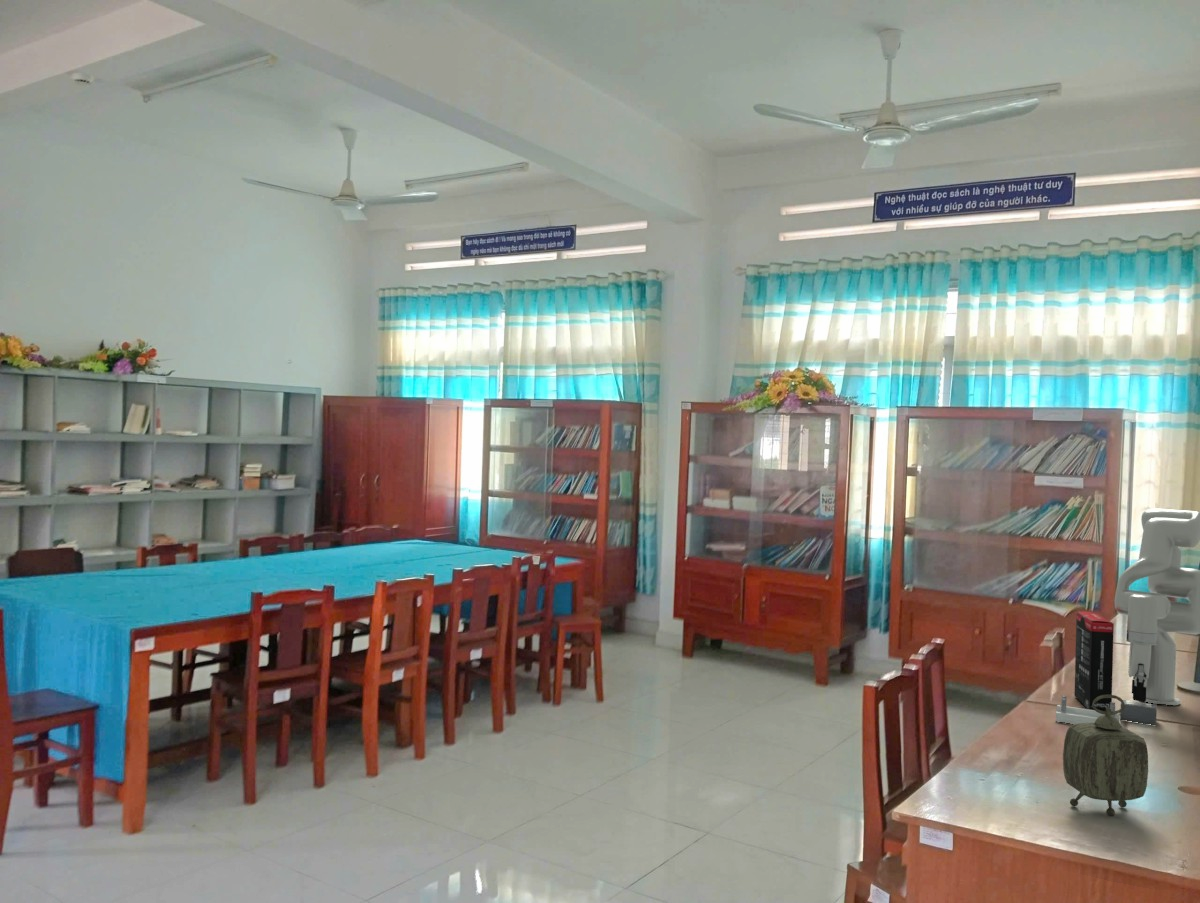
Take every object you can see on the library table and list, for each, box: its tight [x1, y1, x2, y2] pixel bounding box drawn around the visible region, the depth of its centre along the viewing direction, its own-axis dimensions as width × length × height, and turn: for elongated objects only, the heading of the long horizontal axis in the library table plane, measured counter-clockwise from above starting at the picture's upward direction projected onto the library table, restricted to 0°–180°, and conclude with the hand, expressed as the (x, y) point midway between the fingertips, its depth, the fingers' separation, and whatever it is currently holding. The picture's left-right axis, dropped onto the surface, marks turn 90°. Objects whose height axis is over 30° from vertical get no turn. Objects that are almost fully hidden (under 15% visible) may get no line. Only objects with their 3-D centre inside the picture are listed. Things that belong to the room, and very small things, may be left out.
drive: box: [1119, 699, 1158, 726], centre depth 278 cm, size 6×9×5 cm, turn 59°
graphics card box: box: [1073, 610, 1115, 711], centre depth 294 cm, size 17×7×27 cm, turn 168°
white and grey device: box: [1055, 695, 1121, 725], centre depth 275 cm, size 11×16×6 cm
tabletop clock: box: [1062, 694, 1149, 817], centre depth 205 cm, size 14×9×25 cm, turn 92°
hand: (1138, 697), depth 277 cm, fingers open, 9 cm apart
